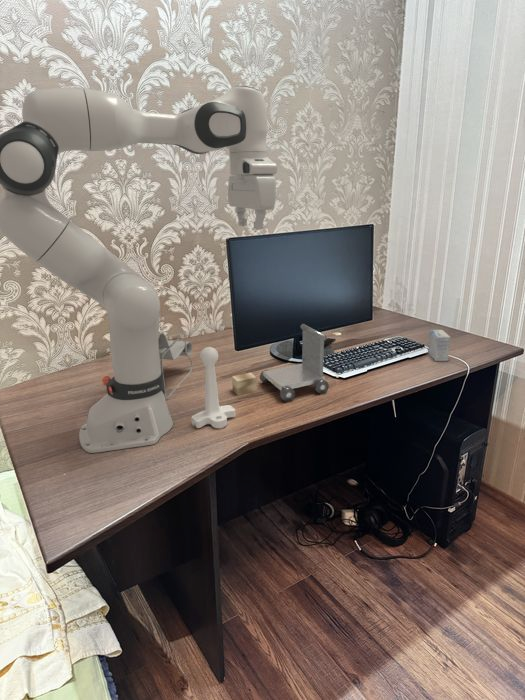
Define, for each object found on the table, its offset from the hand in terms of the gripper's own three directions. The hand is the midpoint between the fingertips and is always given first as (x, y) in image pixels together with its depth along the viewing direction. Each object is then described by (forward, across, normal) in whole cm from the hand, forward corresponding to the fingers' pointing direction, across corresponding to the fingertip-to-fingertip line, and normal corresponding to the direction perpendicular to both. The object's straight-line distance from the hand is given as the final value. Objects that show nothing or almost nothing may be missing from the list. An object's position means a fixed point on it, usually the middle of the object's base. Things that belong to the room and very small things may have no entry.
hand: (250, 227), depth 113 cm
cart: (+47, -3, +14) cm, 49 cm away
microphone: (+48, -28, +39) cm, 68 cm away
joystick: (+47, +6, -14) cm, 50 cm away
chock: (+47, -8, 0) cm, 48 cm away
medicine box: (+47, -2, +69) cm, 84 cm away
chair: (+48, -25, -21) cm, 57 cm away
